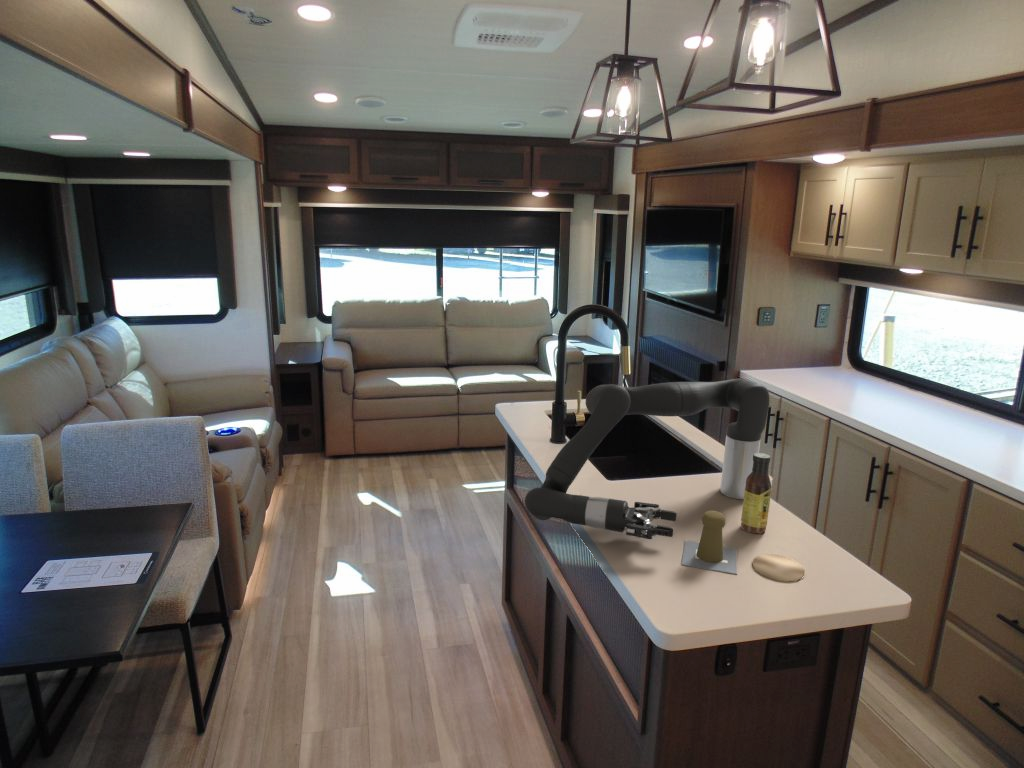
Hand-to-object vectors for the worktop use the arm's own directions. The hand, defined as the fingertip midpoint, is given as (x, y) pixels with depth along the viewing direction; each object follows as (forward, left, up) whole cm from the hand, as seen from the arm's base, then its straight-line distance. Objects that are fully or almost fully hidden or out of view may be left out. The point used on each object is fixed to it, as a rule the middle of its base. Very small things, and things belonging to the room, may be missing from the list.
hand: (674, 524), depth 158 cm
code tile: (0, +9, -7) cm, 11 cm away
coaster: (0, +24, -7) cm, 25 cm away
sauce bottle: (-19, +19, -7) cm, 27 cm away
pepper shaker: (0, +9, -7) cm, 11 cm away
